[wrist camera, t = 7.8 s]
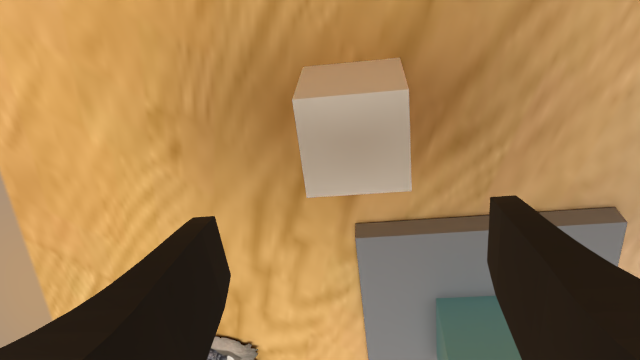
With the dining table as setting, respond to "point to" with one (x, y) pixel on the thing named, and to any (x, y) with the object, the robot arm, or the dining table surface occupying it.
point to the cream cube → (354, 128)
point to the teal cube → (473, 330)
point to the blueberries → (230, 350)
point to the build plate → (445, 271)
